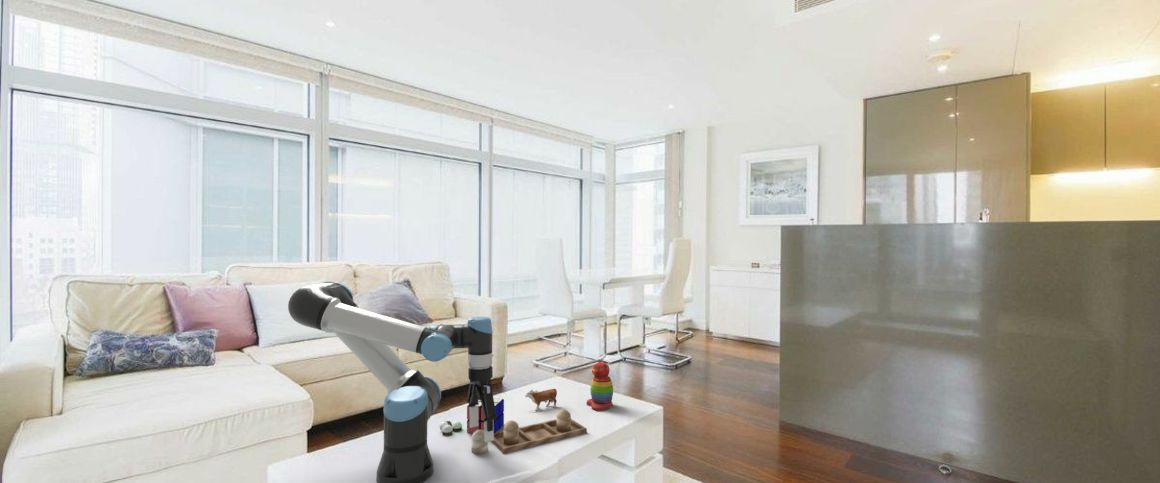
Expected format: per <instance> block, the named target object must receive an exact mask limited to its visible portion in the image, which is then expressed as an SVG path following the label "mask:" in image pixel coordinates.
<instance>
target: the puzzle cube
mask: <svg viewBox="0 0 1160 483" xmlns="http://www.w3.org/2000/svg"><path fill="white" fill-rule="evenodd" d="M493 399H494V405H495V411H496V416H497V419H494V420H493V424H494V433H497V432H499V431H500V429H501V428H503V427H504V425H505V399H504V398H501V397H500V398H497V397H493ZM478 403H479V405H475V406H478V426H476V427H472V428H470V410H469V407H470V406H469V404H468V405H467V406H466V419H467V420H466V433H467V434H473V433H474V432H475V431H476V430H479V429H481V430H484V421H483V420H484V419H485V415H484V411H483V407H482V403H481V401H480V400H478ZM490 416H491V415H490Z"/></svg>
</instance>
